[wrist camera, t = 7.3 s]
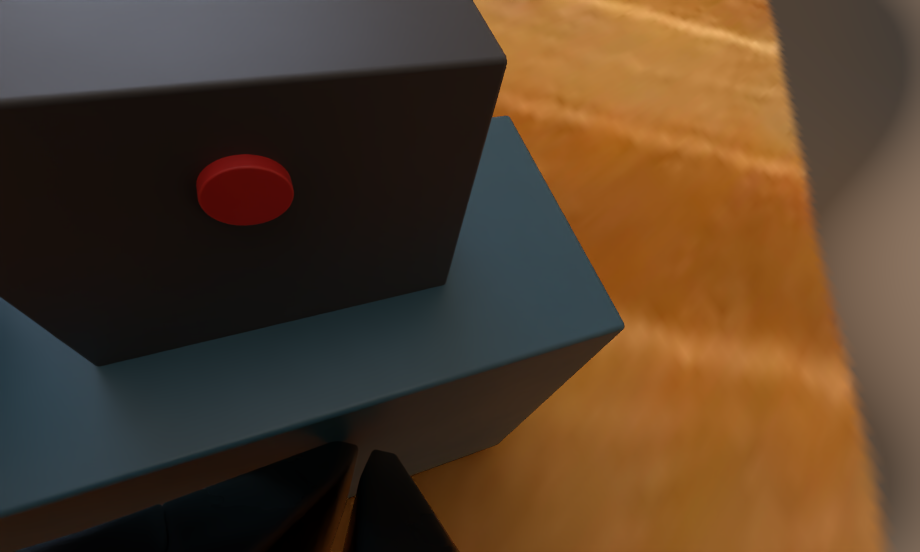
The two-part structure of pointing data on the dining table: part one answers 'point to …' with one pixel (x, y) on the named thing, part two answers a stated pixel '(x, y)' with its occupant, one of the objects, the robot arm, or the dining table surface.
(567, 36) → the dining table surface
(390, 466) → the robot arm
